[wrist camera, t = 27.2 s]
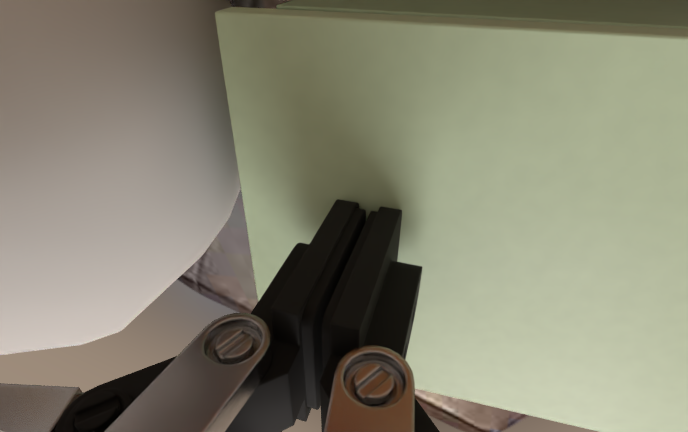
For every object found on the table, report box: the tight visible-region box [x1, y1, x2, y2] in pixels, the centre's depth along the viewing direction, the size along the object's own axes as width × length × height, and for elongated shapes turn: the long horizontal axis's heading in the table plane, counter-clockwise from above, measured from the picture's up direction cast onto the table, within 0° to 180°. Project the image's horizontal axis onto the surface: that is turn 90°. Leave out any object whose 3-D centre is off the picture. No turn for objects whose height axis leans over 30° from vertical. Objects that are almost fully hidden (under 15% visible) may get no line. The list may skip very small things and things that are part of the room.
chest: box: [276, 0, 688, 29], centre depth 16 cm, size 13×11×12 cm
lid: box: [215, 7, 688, 432], centre depth 11 cm, size 14×11×1 cm
